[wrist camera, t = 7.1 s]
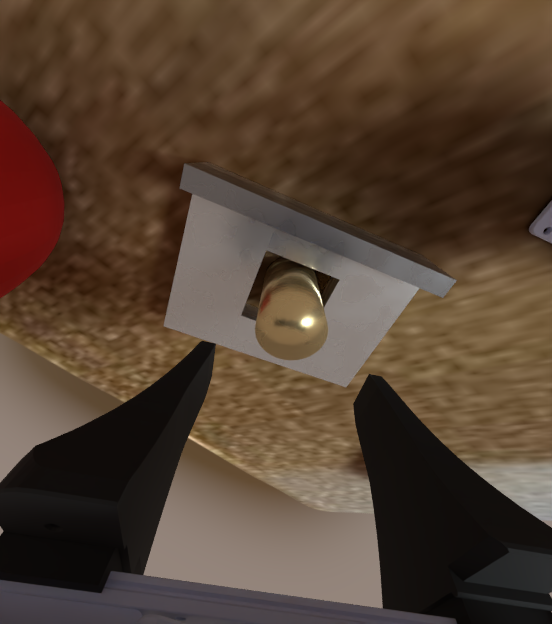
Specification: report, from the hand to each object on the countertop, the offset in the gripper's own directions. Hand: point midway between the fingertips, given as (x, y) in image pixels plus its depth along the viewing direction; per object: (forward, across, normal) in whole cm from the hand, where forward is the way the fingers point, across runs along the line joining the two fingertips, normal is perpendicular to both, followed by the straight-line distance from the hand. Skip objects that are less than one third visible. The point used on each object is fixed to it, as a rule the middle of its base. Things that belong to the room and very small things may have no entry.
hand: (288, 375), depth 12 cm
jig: (+10, 0, 0) cm, 10 cm away
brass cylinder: (+10, 0, 0) cm, 10 cm away
